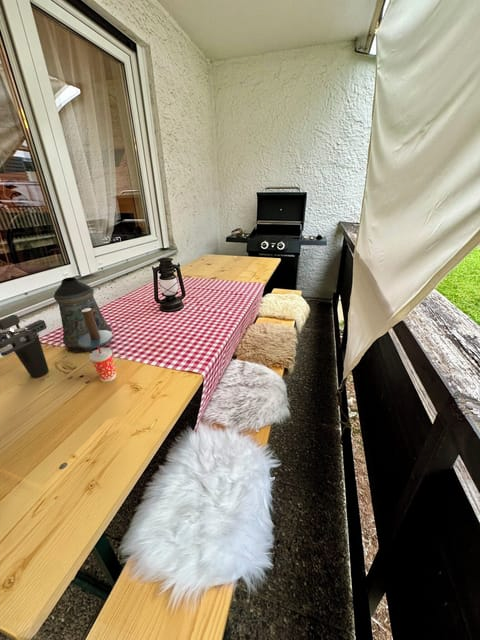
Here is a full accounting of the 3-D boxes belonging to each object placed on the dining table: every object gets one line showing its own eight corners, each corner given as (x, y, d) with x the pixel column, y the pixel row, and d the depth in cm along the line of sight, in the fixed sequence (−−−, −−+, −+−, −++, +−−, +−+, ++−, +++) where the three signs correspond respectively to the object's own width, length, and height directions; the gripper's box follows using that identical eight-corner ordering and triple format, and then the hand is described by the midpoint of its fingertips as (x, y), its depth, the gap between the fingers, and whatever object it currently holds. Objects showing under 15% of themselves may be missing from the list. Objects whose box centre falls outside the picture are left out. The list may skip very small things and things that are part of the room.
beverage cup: (97, 374, 83) (84, 337, 76) (118, 368, 85) (107, 332, 79) (97, 386, 78) (83, 347, 71) (119, 380, 80) (107, 342, 74)
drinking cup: (58, 370, 85) (35, 316, 76) (32, 384, 79) (4, 327, 70) (46, 363, 88) (22, 310, 79) (21, 375, 83) (-8, 321, 73)
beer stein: (89, 357, 91) (66, 291, 79) (49, 348, 97) (22, 284, 85) (122, 334, 105) (106, 274, 93) (85, 327, 111) (66, 270, 99)
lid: (71, 345, 72) (59, 314, 68) (96, 330, 80) (86, 301, 75) (96, 350, 70) (85, 319, 65) (119, 334, 77) (111, 305, 73)
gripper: (-47, 352, 41) (47, 309, 55) (-99, 338, 45) (1, 302, 59) (-24, 387, 45) (59, 339, 58) (-74, 371, 49) (15, 330, 62)
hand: (30, 320), depth 59 cm, fingers open, 8 cm apart
